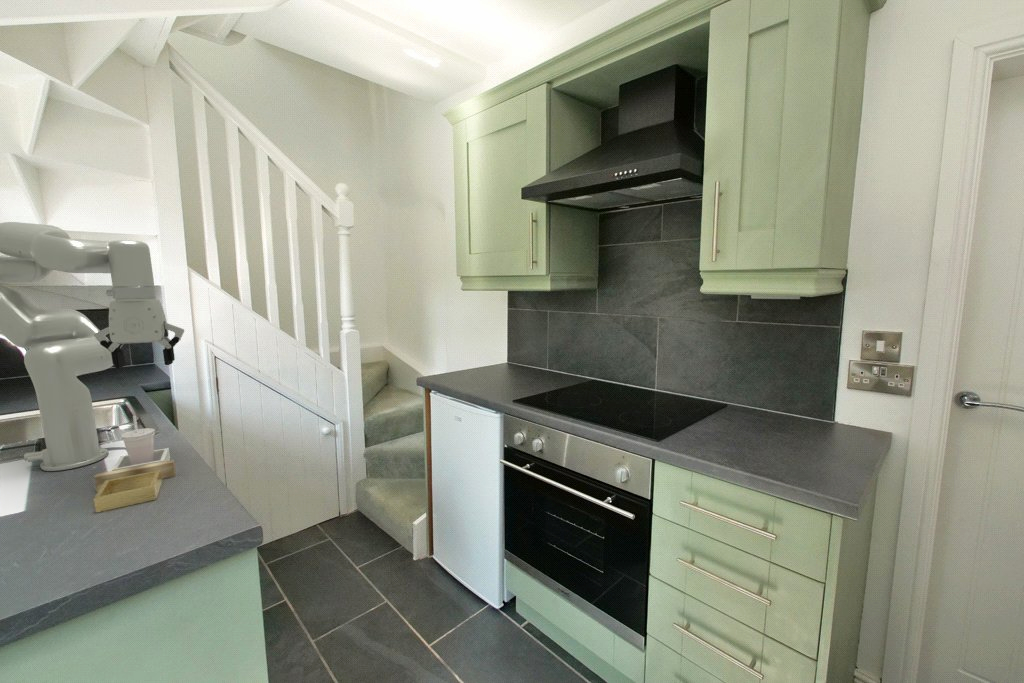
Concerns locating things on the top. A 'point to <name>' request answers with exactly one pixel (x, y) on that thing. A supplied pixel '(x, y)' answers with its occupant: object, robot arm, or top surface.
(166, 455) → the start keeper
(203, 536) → the top surface
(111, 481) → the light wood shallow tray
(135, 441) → the smoothie
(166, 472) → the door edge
